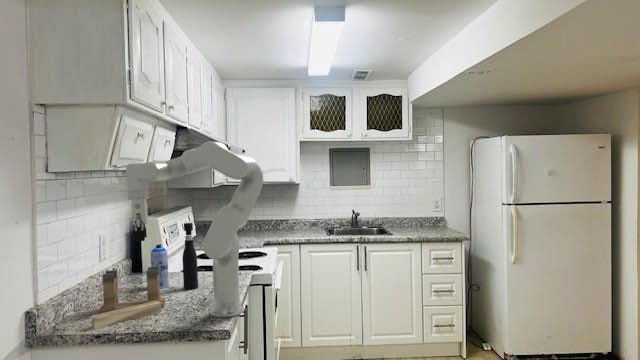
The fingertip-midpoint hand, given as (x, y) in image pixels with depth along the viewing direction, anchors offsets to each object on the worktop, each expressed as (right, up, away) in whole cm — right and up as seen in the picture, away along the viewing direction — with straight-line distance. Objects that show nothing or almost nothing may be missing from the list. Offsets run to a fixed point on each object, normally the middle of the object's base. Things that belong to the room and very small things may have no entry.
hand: (141, 239), depth 174 cm
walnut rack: (-6, -28, +6) cm, 30 cm away
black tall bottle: (+10, -27, +33) cm, 44 cm away
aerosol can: (-6, -28, +37) cm, 47 cm away
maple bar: (-2, -29, -7) cm, 30 cm away
